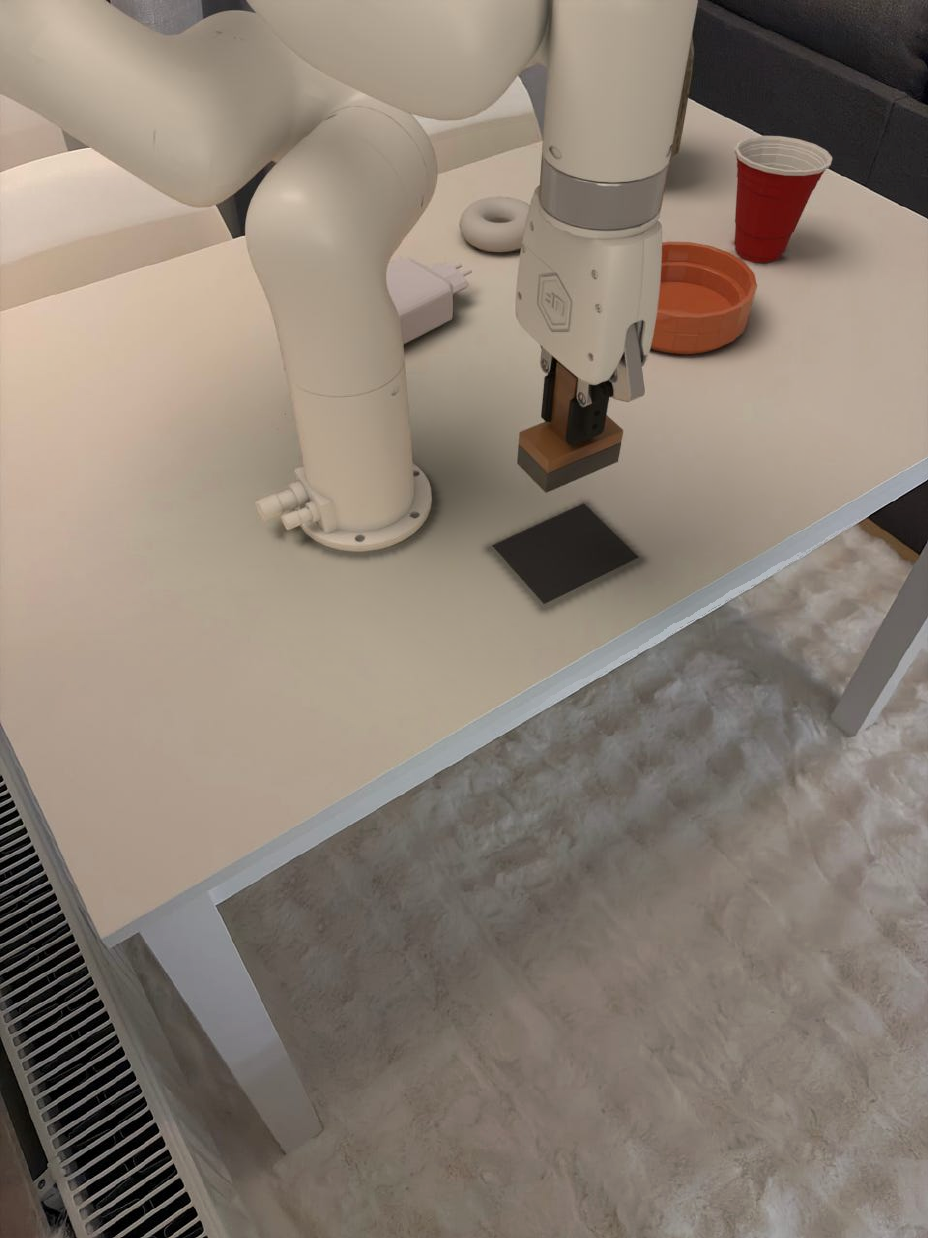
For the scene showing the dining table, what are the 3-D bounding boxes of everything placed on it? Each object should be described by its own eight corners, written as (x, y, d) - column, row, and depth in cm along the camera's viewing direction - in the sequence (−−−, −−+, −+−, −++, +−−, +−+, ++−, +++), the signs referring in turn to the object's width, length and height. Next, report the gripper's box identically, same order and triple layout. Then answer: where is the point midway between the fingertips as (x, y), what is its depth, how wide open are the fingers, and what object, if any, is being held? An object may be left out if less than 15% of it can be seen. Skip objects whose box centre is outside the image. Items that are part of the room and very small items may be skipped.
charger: (493, 302, 106) (392, 355, 99) (440, 271, 110) (340, 320, 104) (493, 264, 102) (389, 316, 96) (439, 234, 106) (335, 281, 100)
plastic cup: (817, 242, 113) (847, 141, 104) (786, 282, 107) (815, 179, 98) (733, 219, 117) (755, 120, 108) (700, 257, 111) (720, 156, 102)
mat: (543, 606, 76) (544, 603, 76) (492, 548, 81) (492, 545, 80) (638, 560, 80) (638, 556, 79) (583, 506, 84) (584, 502, 84)
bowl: (668, 374, 96) (675, 332, 93) (582, 306, 105) (586, 266, 101) (774, 329, 101) (786, 288, 98) (685, 268, 110) (692, 228, 106)
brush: (545, 493, 70) (555, 395, 63) (516, 463, 72) (523, 365, 65) (618, 461, 72) (636, 363, 65) (588, 433, 75) (602, 335, 67)
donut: (554, 232, 116) (489, 209, 119) (556, 206, 113) (489, 182, 117) (509, 267, 111) (443, 241, 114) (511, 240, 108) (443, 214, 112)
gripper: (478, 147, 58) (474, 386, 73) (635, 262, 50) (595, 507, 64) (573, 121, 61) (551, 357, 75) (739, 226, 52) (678, 470, 67)
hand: (572, 424), depth 69 cm, fingers closed on brush, 2 cm apart
